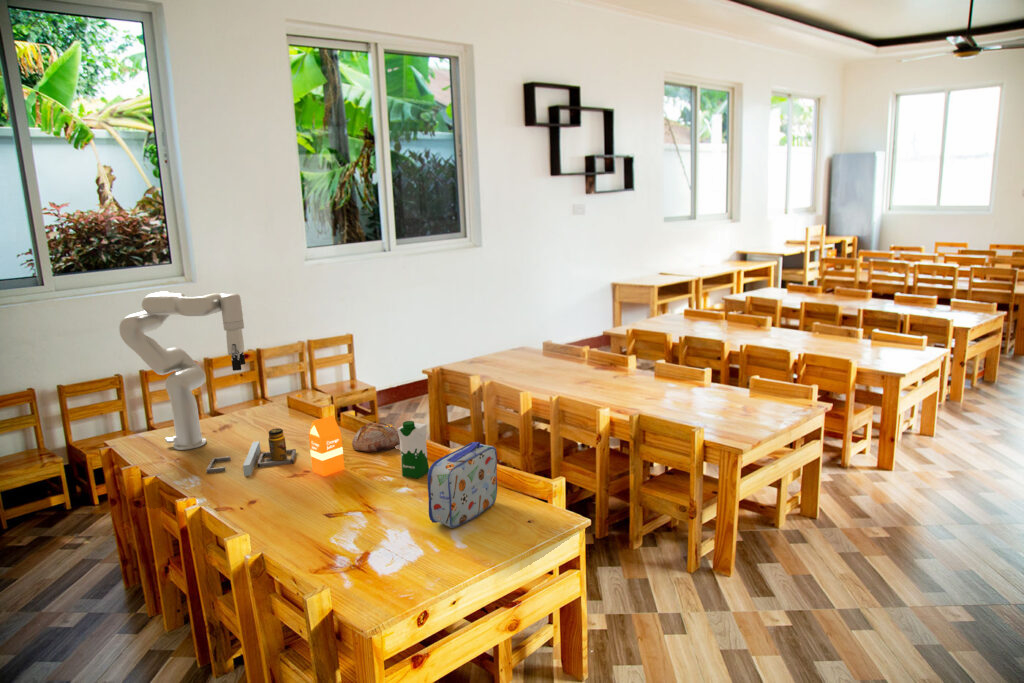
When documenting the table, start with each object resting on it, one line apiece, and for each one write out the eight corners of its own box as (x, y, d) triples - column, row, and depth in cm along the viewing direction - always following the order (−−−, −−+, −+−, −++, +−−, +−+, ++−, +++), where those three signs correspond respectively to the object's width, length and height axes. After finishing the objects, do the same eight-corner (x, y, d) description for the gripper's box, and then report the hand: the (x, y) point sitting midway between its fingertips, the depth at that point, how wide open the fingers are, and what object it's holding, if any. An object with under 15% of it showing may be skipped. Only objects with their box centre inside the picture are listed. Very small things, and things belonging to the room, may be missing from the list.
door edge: (244, 476, 261) (242, 465, 260) (254, 451, 286) (253, 441, 285) (251, 475, 261) (249, 464, 260) (260, 450, 286) (259, 441, 285)
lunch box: (477, 494, 236) (474, 431, 231) (504, 500, 230) (501, 435, 226) (425, 529, 213) (420, 460, 209) (453, 536, 208) (448, 465, 203)
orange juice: (344, 468, 263) (339, 417, 259) (324, 476, 257) (318, 423, 253) (332, 464, 268) (327, 413, 264) (312, 471, 262) (306, 419, 258)
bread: (349, 447, 289) (346, 423, 287) (396, 437, 297) (393, 414, 295) (358, 457, 274) (355, 432, 272) (407, 447, 282) (405, 422, 281)
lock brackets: (206, 473, 265) (206, 469, 264) (213, 461, 276) (212, 458, 276) (293, 463, 271) (292, 459, 270) (296, 452, 282) (295, 448, 282)
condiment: (290, 460, 274) (287, 430, 272) (268, 465, 270) (264, 435, 267) (285, 454, 280) (281, 425, 278) (263, 460, 276) (259, 430, 273)
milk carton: (398, 477, 253) (394, 423, 249) (412, 467, 261) (408, 415, 257) (419, 480, 249) (415, 426, 245) (433, 470, 257) (429, 418, 253)
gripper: (227, 322, 289) (233, 363, 292) (219, 330, 272) (225, 373, 276) (247, 320, 290) (252, 361, 294) (240, 328, 273) (245, 371, 277)
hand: (239, 367), depth 285 cm, fingers open, 9 cm apart
